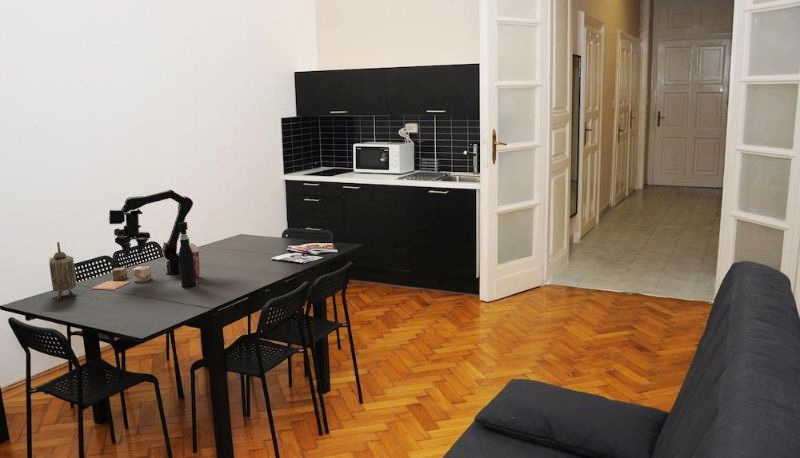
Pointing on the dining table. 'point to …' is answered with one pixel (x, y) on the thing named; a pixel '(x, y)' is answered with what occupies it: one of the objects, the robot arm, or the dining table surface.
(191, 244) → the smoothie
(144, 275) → the maple block
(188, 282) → the wine bottle
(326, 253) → the dining table surface
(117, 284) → the terracotta tile
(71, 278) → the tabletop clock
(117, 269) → the walnut block
